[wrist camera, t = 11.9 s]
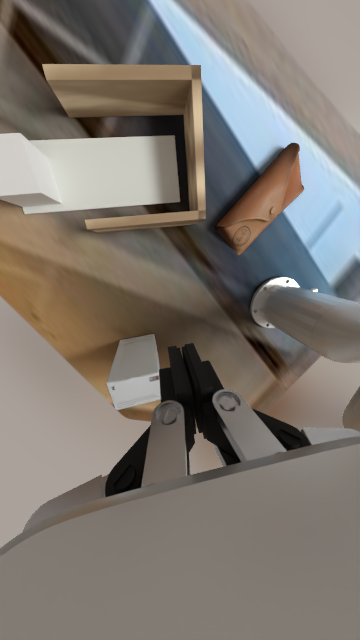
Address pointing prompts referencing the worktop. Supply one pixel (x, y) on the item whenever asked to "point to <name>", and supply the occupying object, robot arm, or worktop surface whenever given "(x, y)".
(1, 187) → the white cube
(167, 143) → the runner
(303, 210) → the worktop surface
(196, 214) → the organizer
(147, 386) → the skincare box
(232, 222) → the sunglasses case
